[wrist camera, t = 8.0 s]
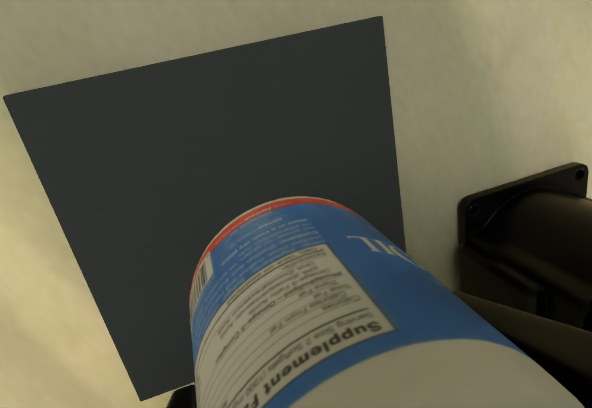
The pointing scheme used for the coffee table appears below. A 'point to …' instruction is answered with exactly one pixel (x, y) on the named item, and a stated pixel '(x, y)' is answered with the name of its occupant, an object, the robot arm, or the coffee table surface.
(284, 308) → the pill bottle
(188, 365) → the mat
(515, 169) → the coffee table surface
